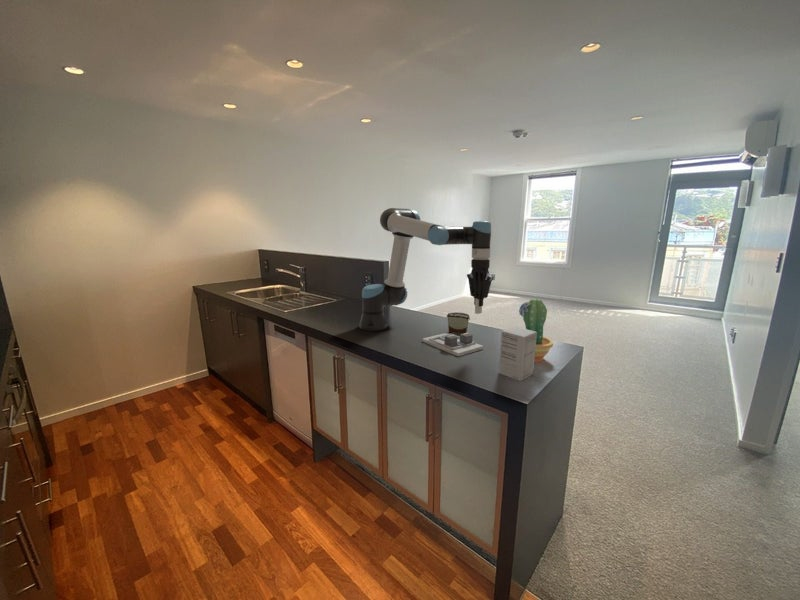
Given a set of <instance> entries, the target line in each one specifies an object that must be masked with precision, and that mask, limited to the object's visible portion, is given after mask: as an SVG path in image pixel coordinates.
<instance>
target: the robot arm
mask: <svg viewBox="0 0 800 600" xmlns="http://www.w3.org/2000/svg"><path fill="white" fill-rule="evenodd" d="M379 223H380V226H381V227H382V229H383V230H385V231H386V232H391V235H392V236H393V243H392V247H391V248H392V250H391V255H390V262H389V268H388V273H387V278H386V279H385V280H384V282H383V284H382V283H381V284H380V283H373V284H367V285H365V286H364V287H363V288H362V289H361V299H362V300H361V301H362V304H361V308H362V309H361V310H362V314H361V317H360V321H359V330H362V331H367V332H378V331H379V332H380V331H383V330H386V329H387V328H388V323H387V319H386V317H385V312H384V309H385V308H387V307H392V306H399V305H402V304H403V303H405V301H406V300H407V298H408V291H407V290H408V288H407V287H406V285H405V284H406V283H405V282H404V276H405V275H404V274H405V272H406V271H405V270H406V267H407V266H406V265H407V260H408V253H409V247H410V243H411V239H413V238H414V237H415V238H419V239H422V240H425V241H429V242H430V244H431V245H435V246H444V245H445V246H446V245H449V246H450V245H471V260H470V261H471V262H470V265H471V266H470V268H471V271H470V273H467V274H466V277H467V279H468V287H469V292H470V296H471V297H473V298H474V299H473V301H474V302H473V304H474V314H477V315H478V314H479V315H481V314H483V313H482V312H483V307H484V299H487V298H488V297H489V293H490V289H491V285H492V281H493V280H494V276H493V275H492V276H491V274H490V272H489V269H490V258H491V237H492V223H491V222H490V221H488V220H483V221H482V220H478V221H477V220H476V221H473V222H472V226H447V225H441V224H437V223H433V222H429V221H425V220H421V217H420V215H419V213H418V212H417V210H415V209H410V208H396V207H395V208H394V207H391V208H387V209H385V210H383V212H382V213H381V214H380V218H379Z"/></svg>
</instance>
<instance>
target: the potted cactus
mask: <svg viewBox="0 0 800 600" xmlns="http://www.w3.org/2000/svg"><path fill="white" fill-rule="evenodd" d="M518 312H519V313H518V314H519V315H520V316H521V317H522V319H523V323H524V325H525V329H527V330H531V331H535V332H537V337H536V348H535V359H534V363H537V362H543V361H544V359H545V358H544V357H545V356H546V355H548V354H549V351H550V349H551V348H553V346H554V340H553V339H551V338H549V337H547V336H544V325H545V322H546V321H547V320H546V319H547V314H548V310H547V307H546V305H545V304H544V302H543V301H542V299H540V300H539V299H538V298H537V299H533V298H532V299H530V300H529V301H526V302H523V303H522V304H521V305H520V306H519V310H518Z"/></svg>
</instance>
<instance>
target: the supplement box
mask: <svg viewBox="0 0 800 600" xmlns="http://www.w3.org/2000/svg"><path fill="white" fill-rule="evenodd" d="M536 337H537V332H535V331H531V330H527V329H526V328H523V327H519V326H513V327H510V328H507V329H504V330H502V331H501V337H500V338H501V339H500V349H499V350H500V352H499V364H498V365H499V367H498V368H499V369H498V374H500V375H502V376H506V377H508V378H511V379H513V380H517V381H519V382H521V381H524V380H525V379H527V378H529V377H531V376H532V375H534V369H535V368H534V367H535V362H534V359H535V348H536Z"/></svg>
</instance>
